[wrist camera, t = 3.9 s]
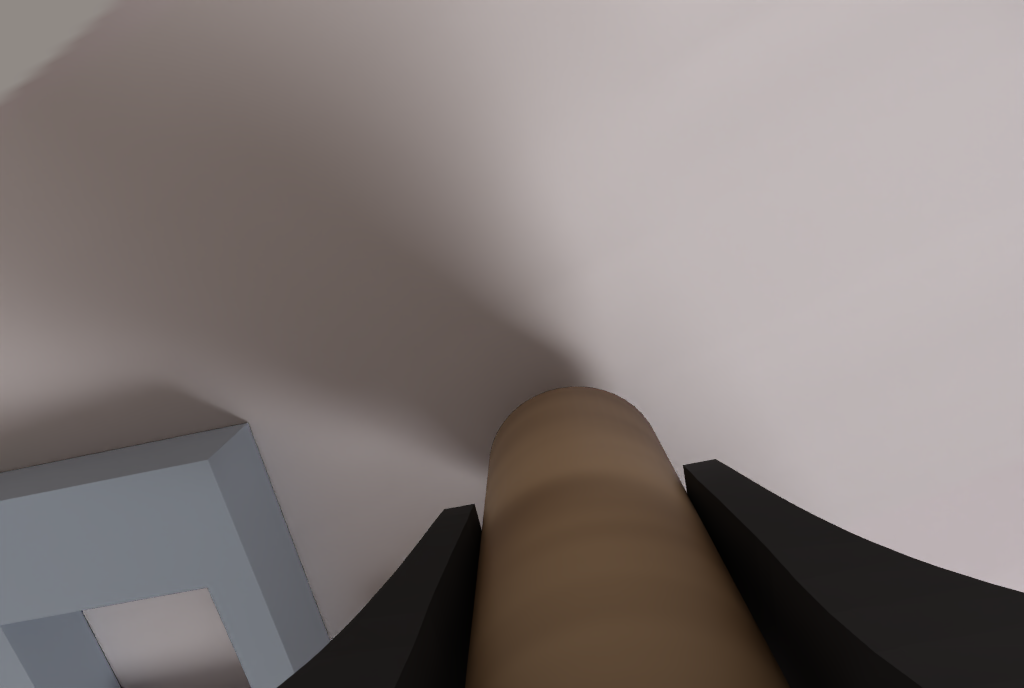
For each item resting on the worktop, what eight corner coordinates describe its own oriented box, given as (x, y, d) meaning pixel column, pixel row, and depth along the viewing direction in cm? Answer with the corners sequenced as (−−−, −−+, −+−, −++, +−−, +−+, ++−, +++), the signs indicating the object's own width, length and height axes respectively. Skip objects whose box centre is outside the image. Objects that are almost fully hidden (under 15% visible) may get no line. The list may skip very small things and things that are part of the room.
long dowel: (671, 525, 14) (865, 966, 6) (509, 554, 14) (496, 1008, 6) (647, 370, 13) (846, 667, 5) (471, 405, 13) (400, 736, 5)
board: (376, 763, 18) (359, 833, 16) (140, 800, 19) (97, 872, 17) (248, 422, 15) (207, 459, 13) (-34, 479, 15) (-113, 523, 13)
